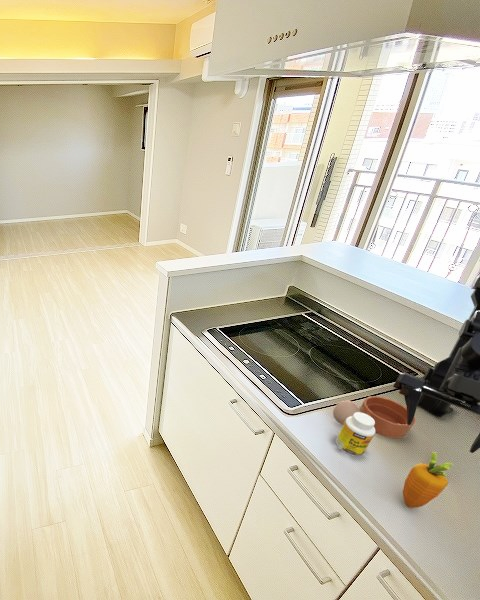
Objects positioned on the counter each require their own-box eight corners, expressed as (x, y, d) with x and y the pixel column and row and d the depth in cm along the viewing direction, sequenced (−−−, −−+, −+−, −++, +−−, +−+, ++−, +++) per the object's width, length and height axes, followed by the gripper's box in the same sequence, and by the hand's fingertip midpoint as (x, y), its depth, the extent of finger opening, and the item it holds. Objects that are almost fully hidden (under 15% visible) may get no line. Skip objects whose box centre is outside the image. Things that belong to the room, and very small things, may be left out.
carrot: (393, 489, 71) (424, 443, 64) (424, 506, 68) (461, 459, 61) (390, 506, 68) (422, 459, 61) (423, 524, 65) (461, 477, 58)
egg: (327, 413, 91) (335, 393, 87) (349, 417, 89) (359, 397, 86) (333, 428, 86) (342, 407, 83) (357, 432, 85) (368, 412, 81)
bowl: (373, 405, 92) (380, 392, 90) (416, 432, 84) (424, 418, 82) (348, 415, 90) (355, 402, 87) (389, 444, 81) (398, 430, 79)
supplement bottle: (340, 455, 79) (355, 425, 74) (331, 436, 84) (345, 407, 79) (367, 460, 78) (384, 430, 73) (357, 440, 83) (372, 411, 78)
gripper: (417, 341, 69) (385, 405, 68) (563, 386, 57) (528, 466, 55) (407, 356, 77) (378, 414, 76) (533, 399, 65) (502, 469, 63)
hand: (438, 437), depth 67 cm, fingers open, 9 cm apart
